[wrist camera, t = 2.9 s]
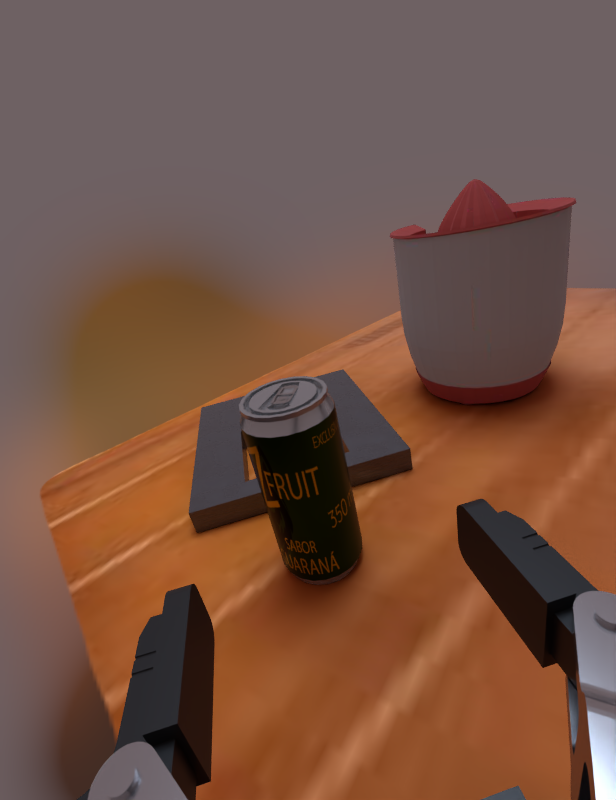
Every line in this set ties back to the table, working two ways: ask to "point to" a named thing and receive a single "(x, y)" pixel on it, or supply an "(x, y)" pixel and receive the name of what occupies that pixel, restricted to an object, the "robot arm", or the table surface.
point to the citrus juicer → (485, 294)
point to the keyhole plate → (240, 498)
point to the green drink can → (303, 476)
